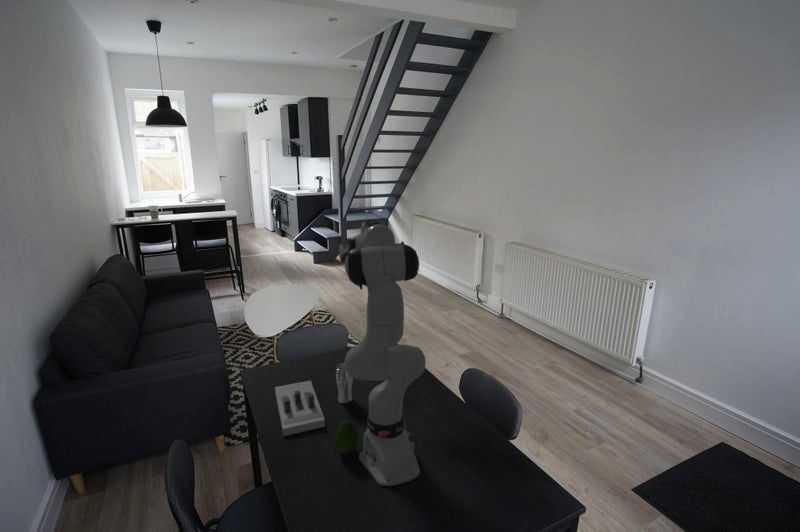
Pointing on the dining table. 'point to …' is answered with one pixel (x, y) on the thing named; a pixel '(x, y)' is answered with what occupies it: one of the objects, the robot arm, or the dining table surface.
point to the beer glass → (343, 384)
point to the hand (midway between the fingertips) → (370, 281)
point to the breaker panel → (298, 408)
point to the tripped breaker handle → (297, 396)
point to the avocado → (347, 437)
